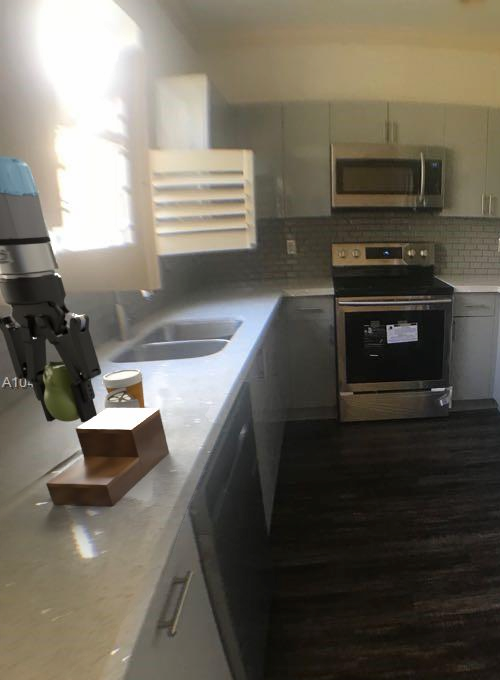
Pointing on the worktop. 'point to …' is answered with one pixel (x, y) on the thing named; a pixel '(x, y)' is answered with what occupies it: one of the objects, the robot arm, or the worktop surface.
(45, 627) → the worktop surface
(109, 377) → the disposable coffee cup
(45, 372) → the pear
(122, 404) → the food container
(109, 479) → the wooden step stand
